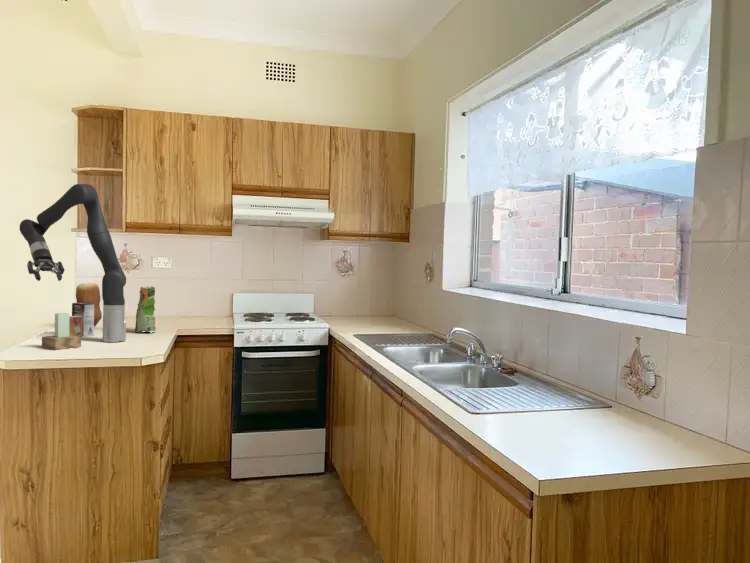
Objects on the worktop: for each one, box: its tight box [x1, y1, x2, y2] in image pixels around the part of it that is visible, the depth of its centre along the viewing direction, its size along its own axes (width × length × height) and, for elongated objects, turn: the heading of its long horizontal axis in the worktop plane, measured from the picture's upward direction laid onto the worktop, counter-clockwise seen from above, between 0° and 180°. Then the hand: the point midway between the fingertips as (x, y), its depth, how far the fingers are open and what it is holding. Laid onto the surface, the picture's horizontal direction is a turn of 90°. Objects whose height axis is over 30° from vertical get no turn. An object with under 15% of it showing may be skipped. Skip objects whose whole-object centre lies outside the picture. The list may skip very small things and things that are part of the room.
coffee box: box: [71, 302, 95, 337], centre depth 294 cm, size 9×6×16 cm
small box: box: [69, 315, 82, 338], centre depth 283 cm, size 8×6×10 cm
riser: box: [41, 335, 82, 351], centre depth 253 cm, size 11×11×5 cm
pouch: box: [134, 285, 157, 333], centre depth 310 cm, size 11×12×25 cm
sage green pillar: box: [54, 312, 70, 338], centre depth 252 cm, size 4×4×10 cm
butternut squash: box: [75, 282, 103, 328], centre depth 320 cm, size 14×13×25 cm
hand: (49, 279), depth 262 cm, fingers open, 8 cm apart
